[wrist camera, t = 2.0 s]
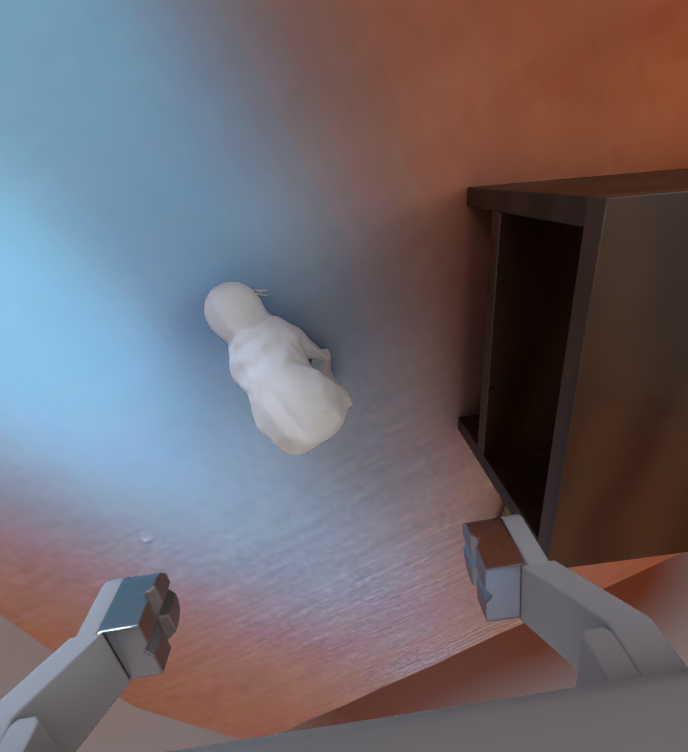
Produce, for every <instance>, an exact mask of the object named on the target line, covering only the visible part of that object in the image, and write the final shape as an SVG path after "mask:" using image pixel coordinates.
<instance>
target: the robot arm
mask: <svg viewBox="0 0 688 752" xmlns="http://www.w3.org/2000/svg"><path fill="white" fill-rule="evenodd" d="M463 536H464V539H465V541H466V544H465V546H464V557H465V562H466V567H467V571H468V574H469V577H470V580H471V582H472V584H473V585H475V586H476V587H477V595H478V601H479V603H480V606H481V608H482V611H483V613H484V616H485V618H486V621H487V622H489V621H497V620H504V619H512V618H520V619H521V620H522V621H523V622H524V623H525V624H526V625H528V626H529V627H530V628H531V629H532V630H533V631H534V632H535V633H537V634H538V635H539V636H540V637H541V638H542V639H543V640H544V641H546V642H547V643H548V644H549V645H550V646H551V647H553V649H555V650H556V651H557V652H558V653H559V654H560V655H561V656H562V657H564V658H565V659H566V660H567V661H568V662H569V663H570V664H571V665H573V666H574V667H575V668H576V669H577V670H578V673H577V682H576V687H575V688H569V689H562V690H556V691H549V692H544V693H537V694H530V695H524V696H517V697H511V698H505V699H499V700H492V701H486V702H479V703H473V704H467V705H460V706H454V707H447V708H441V709H435V710H428V711H422V712H416V713H410V714H403V715H397V716H391V717H384V718H378V719H372V720H366V721H359V722H353V723H346V724H340V725H334V726H328V727H321V728H315V729H308V730H302V731H295V732H289V733H283V734H276V735H270V736H263V737H257V738H250V739H244V740H238V741H231V742H225V743H219V744H212V745H206V746H199V747H193V748H187V749H181V750H174V751H168V752H688V667H687V666H686V665H685V663H684V662H683V661H682V659H681V658H680V657H679V655H678V654H677V653H676V651H675V650H674V649H673V647H672V646H671V645H670V644H669V642H668V641H667V640H666V638H665V637H664V636H663V634H662V633H661V632H660V630H659V629H658V628H657V626H656V625H655V624H654V622H653V621H652V620H651V618H650V617H648V616H646V615H645V614H643V613H641V612H640V611H638V610H636V609H635V608H633V607H631V606H630V605H628V604H626V603H625V602H623V601H621V600H620V599H618V598H616V597H615V596H613V595H611V594H610V593H608V592H606V591H605V590H603V589H601V588H600V587H598V586H596V585H595V584H593V583H591V582H590V581H588V580H586V579H585V578H583V577H581V576H580V575H578V574H576V573H575V572H573V571H571V570H570V569H568V568H566V567H565V566H563V565H561V564H560V563H558V562H556V561H549V560H548V559H547V557H546V555H545V554H544V552H543V551H542V549H541V547H540V546H539V544H538V542H537V541H536V539H535V537H534V536H533V534H532V533H531V531H530V529H529V528H528V526H527V524H526V523H525V521H524V519H523V518H522V516H520V515H519V514H516V515H510V516H504V517H500V518H493V519H487V520H481V521H475V522H469V523H464V524H463ZM169 584H170V580H169V578H168V577H167V575H166V573H156V574H149V575H142V576H134V577H127V578H122V579H115V580H108V581H107V582H106V583H105V584H104V585H103V586H102V588H101V590H100V592H99V594H98V596H97V597H96V599H95V601H94V603H93V605H92V607H91V609H90V611H89V613H88V615H87V617H86V618H85V620H84V622H83V624H82V626H81V628H80V630H79V632H78V634H77V636H76V637H74V638H70V639H69V640H67V641H66V642H65V643H64V644H63V645H62V646H61V647H60V648H58V649H57V650H56V651H55V652H54V653H53V654H52V655H51V656H50V657H49V658H47V659H46V660H45V661H44V662H43V663H42V664H41V665H39V666H38V667H37V668H36V669H35V670H34V671H33V672H32V673H31V674H29V675H28V676H27V677H26V678H25V679H24V680H23V681H21V683H19V684H18V685H17V686H16V687H15V688H14V689H12V690H11V691H10V692H9V693H8V694H7V695H6V696H5V697H3V698H2V699H1V700H0V752H76V750H77V749H78V748H79V747H80V746H81V744H82V743H83V742H84V740H85V739H86V738H87V736H88V735H89V734H90V733H91V731H92V730H93V729H94V728H95V726H96V725H97V724H98V722H99V721H100V720H101V718H102V717H103V716H104V715H105V713H106V712H107V711H108V710H109V708H110V707H111V706H112V704H113V703H114V702H115V701H116V699H117V698H118V697H119V695H120V694H121V693H122V692H123V690H124V689H125V688H126V686H127V685H128V684H129V683H130V679H136V678H141V677H146V676H151V675H157V674H162V673H163V672H164V668H165V665H166V662H167V659H168V656H169V652H170V649H171V646H170V644H169V642H168V639H169V638H170V637H171V636H172V635H173V634H174V633H175V632H176V630H177V626H178V623H179V615H180V606H179V601H178V598H177V596H176V593H174V592H172V591H171V590H169V589H168V587H169Z"/></svg>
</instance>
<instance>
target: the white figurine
mask: <svg viewBox="0 0 688 752" xmlns="http://www.w3.org/2000/svg"><path fill="white" fill-rule="evenodd" d="M262 292H264V293H265V292H268V291H266V290H261V289H255V290H252V289H251V288H249V287H248V286H246V285H244V284H242V283H239V282H231V281H228V282H225V283H221V284H219V285H217V286H216V287H214V288H213V289H212V290H211V291H210V292H209V294H208V296H207V297H206V300H205V304H204V314H205V317H206V320H207V322H208V324H209V326H210V327H211V329H212V331H214V332H215V333H216V334H217V335H218V336H219V337H221V338H222V339H223V340H224V341H226V342H227V344H228V346H229V358H230V363H229V366H230V373H231V376H232V378H233V380H234V381H235V382H236V383H237V384H238V385H239V386H241V388H242V390H243V391H244V392H245V393H246V394H247V395H248V396H249V401H250V404H251V409H252V415H253V417H254V420H255V423H256V426H257V428H258V429H259V431H260V432H261V433H262V434H263V435H264V436H265V437H266V438H268V439H269V440H271V441H272V442H273V443H274V444H275V446H276V447H277V448H279V449H280V450H281V451H282V452H284V453H286V454H288V455H292V456H297V455H300V454H304V453H307V452H309V451H310V450H312V449H313V448H315V447H316V446H318V445H319V444H321V443H322V442H324V441H326V440H327V439H329V438H330V437H332V436H333V435H334V434H335V433H336V432H337V431H338V430H339V429H340V428H341V427H342V425H343V423H344V420H345V418H346V416H347V413H348V410H349V409H350V408H351V407H352V406H353V403H352V400H351V398H350V396H349V393H348V391H347V389H346V388H345V387H344V386H342V385H341V384H340V383H336V381H335V378H334V376H333V374H332V371H331V355H330V352H329V350H328V349H320V348H319V347H318V346H317V345H316V344H315V343H314V342H313V341H311V340H310V339H309V338H308V337H307V336H306V334H305V333H304V332H303V331H302V330H301V329H300V328H298V327H296V326H294V325H292V324H290V323H288V322H287V321H285V320H284V319H282V318H280V317H278V316H273V315H270V314H269V313H268V312H267V311H266V309H265V308H264V306H263V304H262V302H261V301H262V300H260V299H261V298H259V297H258V296H270V295H266V294H258V293H262ZM264 299H265V298H264ZM212 331H211V332H212ZM210 335H211V334H210ZM308 359H313V360H312V363H311V364H310V362H309V360H308Z"/></svg>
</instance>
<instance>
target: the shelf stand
mask: <svg viewBox="0 0 688 752" xmlns="http://www.w3.org/2000/svg"><path fill="white" fill-rule="evenodd" d="M467 206H470V207H475V208H480V209H486V210H491V211H493V212H492V224H491V240H490V256H489V272H488V288H487V304H486V320H485V336H484V352H483V369H482V385H481V401H480V415H476V416H467V417H459V424H458V429H459V431H460V432H461V434H462V436H463V437H464V439H465V441H466V442H467V444H468V445H469V447H470V449H471V450H472V452H473V453H474V455H475V457H476V458H477V460H478V461H479V463H480V465H481V466H482V468H483V469H484V471H485V473H486V474H487V476H488V478H489V479H490V481H491V482H492V484H493V486H494V487H495V489H496V490H497V492H498V494H499V495H500V497H501V498H502V500H503V502H504V503H505V505H506V506H507V508H508V510H509V511H510V513H511V514H512V515H516V514H519V515H520V516H522V518H523V519H524V521H525V523H526V524H527V526H528V528H529V529H530V531H531V533H532V534H533V536H534V537H535V539H536V541H537V542H538V544H539V546H540V547H541V549H542V551H543V552H544V554H545V555H546V557H547V559H548V560H549V561H556V562H558V563H560V564H561V565H563V566H565V567H566V568H568V567H576V566H583V565H591V564H599V563H606V562H614V561H621V560H629V559H637V558H644V557H652V556H659V555H667V554H675V553H682V552H688V169H676V170H664V171H653V172H641V173H630V174H618V175H606V176H595V177H583V178H572V179H560V180H548V181H537V182H525V183H514V184H502V185H490V186H479V187H469V188H468V196H467Z"/></svg>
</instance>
